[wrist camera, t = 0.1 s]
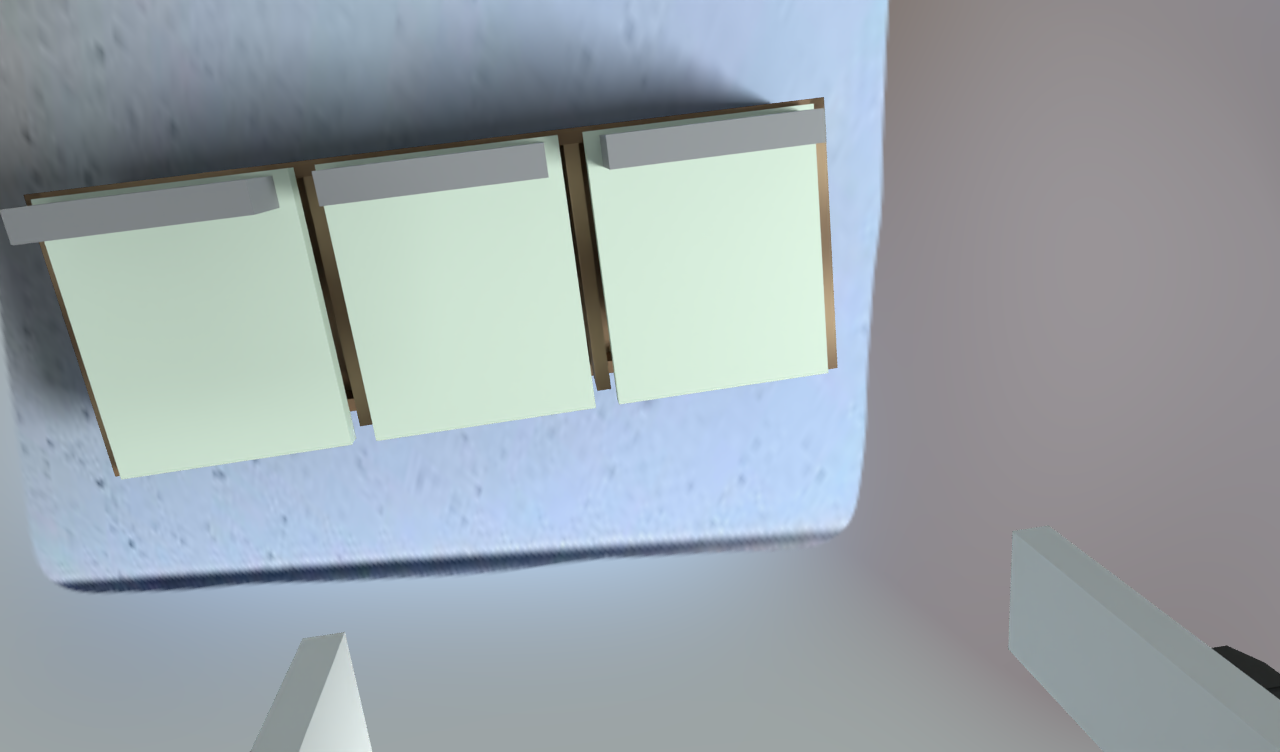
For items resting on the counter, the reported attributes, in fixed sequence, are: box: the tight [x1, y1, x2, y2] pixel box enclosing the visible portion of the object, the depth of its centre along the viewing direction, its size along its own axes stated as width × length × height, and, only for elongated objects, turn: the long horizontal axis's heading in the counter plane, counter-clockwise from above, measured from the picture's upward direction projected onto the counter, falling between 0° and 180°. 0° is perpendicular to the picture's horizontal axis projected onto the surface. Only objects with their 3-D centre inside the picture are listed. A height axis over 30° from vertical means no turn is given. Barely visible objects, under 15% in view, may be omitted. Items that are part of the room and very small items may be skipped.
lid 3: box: [582, 104, 828, 404], centre depth 33 cm, size 11×9×4 cm
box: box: [24, 97, 837, 476], centre depth 38 cm, size 12×31×7 cm, turn 97°
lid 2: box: [312, 135, 596, 441], centre depth 32 cm, size 11×9×4 cm
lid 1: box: [0, 167, 356, 479], centre depth 31 cm, size 11×9×4 cm
